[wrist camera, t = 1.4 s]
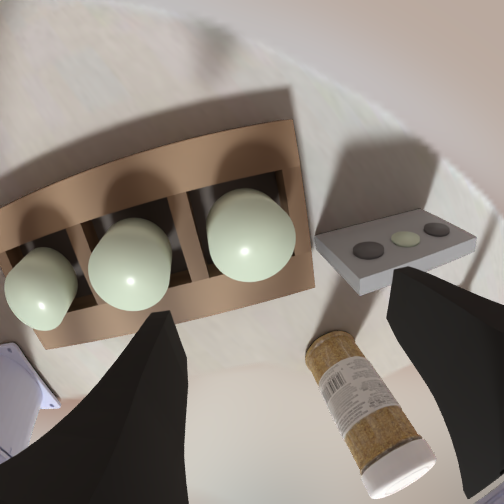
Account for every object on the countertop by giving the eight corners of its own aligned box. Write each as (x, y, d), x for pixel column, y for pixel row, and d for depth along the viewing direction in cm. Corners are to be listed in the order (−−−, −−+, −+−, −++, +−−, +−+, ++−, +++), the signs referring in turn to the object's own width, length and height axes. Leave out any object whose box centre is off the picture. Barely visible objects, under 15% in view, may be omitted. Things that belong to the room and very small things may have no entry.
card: (316, 249, 20) (359, 296, 14) (314, 232, 19) (359, 275, 14) (420, 220, 21) (474, 251, 15) (420, 206, 20) (477, 234, 15)
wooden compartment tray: (54, 333, 18) (45, 349, 17) (-3, 209, 14) (-19, 218, 12) (304, 272, 20) (314, 287, 18) (281, 120, 16) (292, 119, 14)
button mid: (116, 293, 16) (107, 317, 14) (91, 229, 14) (75, 247, 12) (181, 276, 16) (180, 301, 14) (160, 208, 15) (154, 223, 12)
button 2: (40, 311, 15) (26, 334, 13) (13, 256, 14) (-7, 275, 12) (88, 300, 16) (76, 324, 14) (61, 239, 14) (43, 257, 12)
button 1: (216, 267, 17) (220, 290, 14) (198, 198, 15) (199, 212, 13) (285, 250, 17) (300, 269, 15) (274, 180, 15) (289, 190, 13)
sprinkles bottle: (325, 375, 25) (390, 499, 13) (292, 357, 23) (357, 504, 11) (362, 340, 24) (446, 460, 12) (333, 318, 22) (426, 460, 10)
